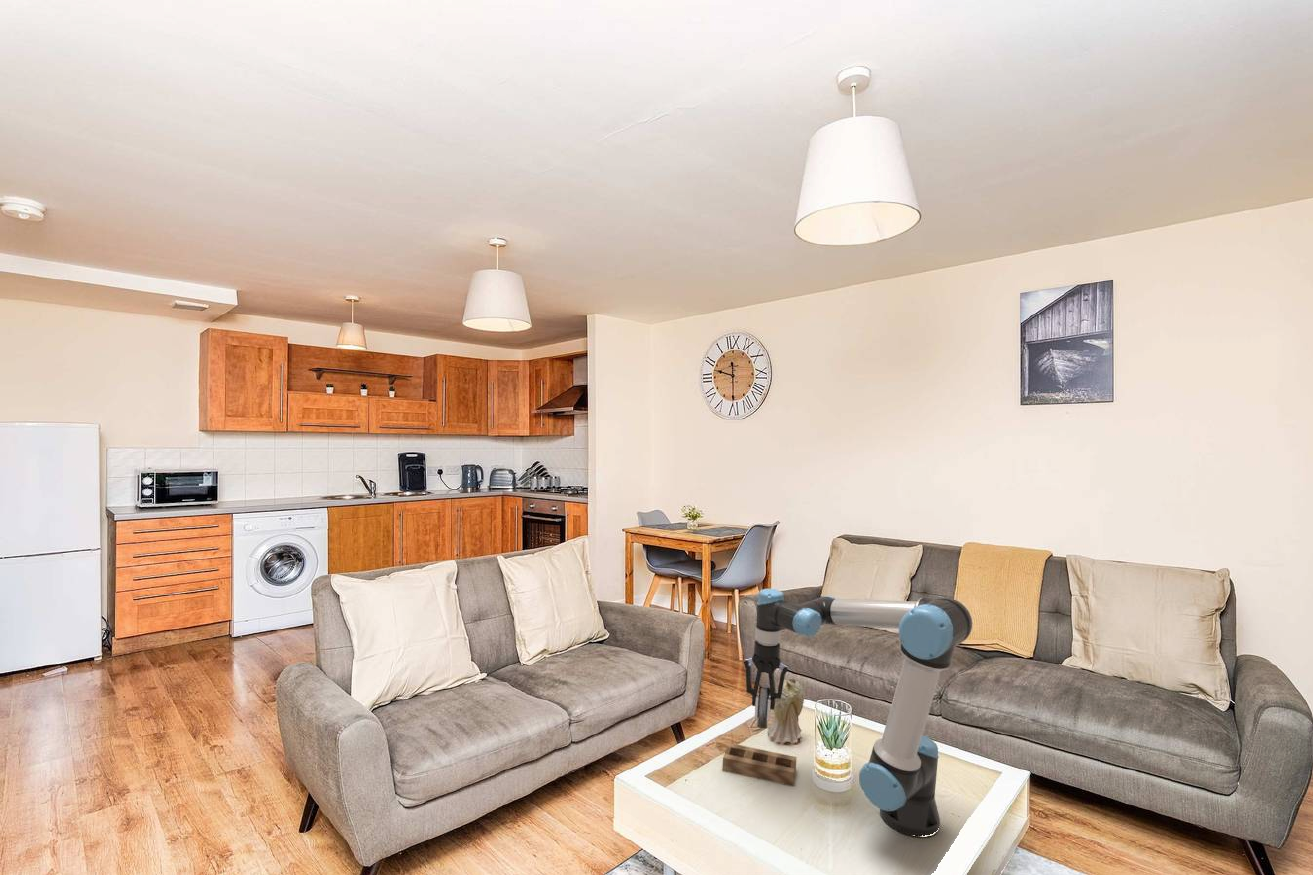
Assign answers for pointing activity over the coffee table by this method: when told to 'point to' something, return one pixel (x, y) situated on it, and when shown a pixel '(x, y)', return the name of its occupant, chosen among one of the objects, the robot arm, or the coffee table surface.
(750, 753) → the hole block
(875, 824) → the coffee table surface
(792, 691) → the figurine
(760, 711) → the peg
